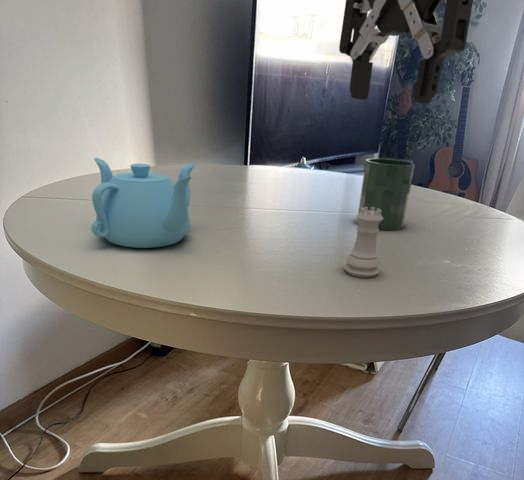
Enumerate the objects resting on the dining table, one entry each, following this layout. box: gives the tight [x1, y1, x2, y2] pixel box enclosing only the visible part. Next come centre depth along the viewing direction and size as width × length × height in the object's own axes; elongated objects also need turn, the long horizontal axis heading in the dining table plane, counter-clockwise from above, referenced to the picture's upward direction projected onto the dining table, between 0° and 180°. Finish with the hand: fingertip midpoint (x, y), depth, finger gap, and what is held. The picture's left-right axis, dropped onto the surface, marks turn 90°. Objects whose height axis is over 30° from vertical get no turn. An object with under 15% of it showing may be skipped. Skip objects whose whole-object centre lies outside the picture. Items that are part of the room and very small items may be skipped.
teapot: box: [91, 157, 196, 249], centre depth 68 cm, size 15×15×10 cm
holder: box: [356, 158, 416, 231], centre depth 83 cm, size 8×8×10 cm
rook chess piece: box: [344, 207, 383, 279], centre depth 60 cm, size 4×4×8 cm
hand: (388, 101), depth 52 cm, fingers open, 8 cm apart
